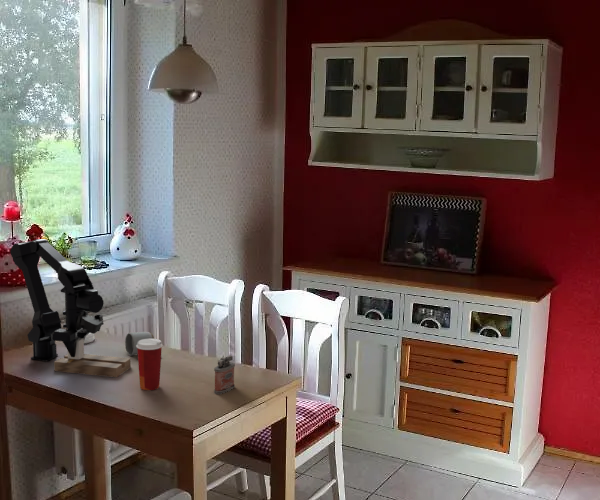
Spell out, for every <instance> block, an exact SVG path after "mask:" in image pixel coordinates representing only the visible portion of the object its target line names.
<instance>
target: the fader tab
mask: <svg viewBox="0 0 600 500" xmlns="http://www.w3.org/2000/svg"><path fill="white" fill-rule="evenodd" d="M67 354H68V358H70V359H76V360H79V359H81V358H83V357H84V354H85V343H84V338H80V339H79V340H78V341H77V343H76V353H75V357H71V355H70V354H69V352H68V351H67Z"/></svg>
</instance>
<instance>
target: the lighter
mask: <svg viewBox="0 0 600 500" xmlns="http://www.w3.org/2000/svg"><path fill="white" fill-rule="evenodd" d="M233 357H234V356H233V355H232V354H231V355H226V356H225V357H223V356H222V357H221V358H220V359H219V360H217V366H215V367H214V370H213V371H214V390H213V393H214V394H215V395H222V393H223V394H226V393H228V392H230V391H232V390H234V389H235V388H234V387H236V386H235V366H236V363H235V362H233V359H234V358H233ZM233 388H234V389H233ZM231 389H232V390H231ZM227 391H228V392H227ZM225 392H226V393H225Z"/></svg>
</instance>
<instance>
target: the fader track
mask: <svg viewBox="0 0 600 500" xmlns="http://www.w3.org/2000/svg"><path fill="white" fill-rule="evenodd" d="M131 360H132V359H131V358H130V357H119V356H110V355H109V356H108V355H101V354H100V355H99V354H90V353H89V354H87V353H84V357H83V358H81V359H79V360H76V359H70V358H68V353H67V354H65V355H64V356H63V357H60V358H58V359H57V360H55V361H54V362H53V365H54V366H53V367H54V372H63V373H69V374H70V373H72V374H80V375H91V376H100V377H109V378H111V377H112V378H118V377H120V376H121V375H122V374H123V373H125V372H126V371H127V370H129V369H131V362H132V361H131Z"/></svg>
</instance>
